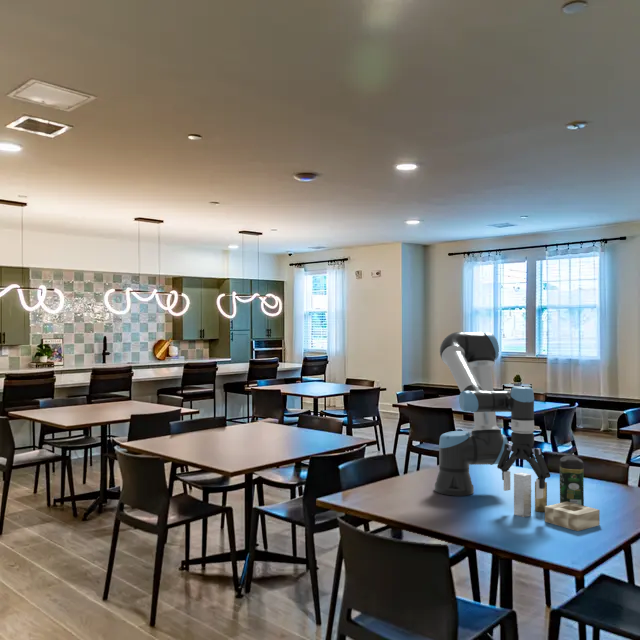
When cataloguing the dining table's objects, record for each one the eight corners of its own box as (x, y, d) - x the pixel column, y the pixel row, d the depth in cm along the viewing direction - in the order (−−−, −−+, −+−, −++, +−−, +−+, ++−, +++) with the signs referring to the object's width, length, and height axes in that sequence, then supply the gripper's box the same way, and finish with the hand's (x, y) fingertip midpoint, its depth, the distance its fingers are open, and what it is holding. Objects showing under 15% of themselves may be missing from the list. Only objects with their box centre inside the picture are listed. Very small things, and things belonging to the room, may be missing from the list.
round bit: (532, 510, 218) (532, 481, 218) (539, 508, 220) (539, 480, 221) (542, 513, 215) (542, 484, 215) (549, 511, 217) (549, 482, 217)
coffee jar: (558, 504, 226) (558, 453, 227) (581, 506, 224) (581, 454, 225) (561, 511, 217) (561, 458, 218) (585, 513, 215) (585, 459, 216)
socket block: (544, 521, 204) (544, 506, 205) (566, 516, 211) (566, 501, 211) (577, 531, 194) (577, 515, 195) (599, 525, 201) (599, 509, 201)
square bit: (513, 514, 212) (514, 473, 213) (521, 512, 215) (521, 472, 215) (523, 517, 209) (523, 475, 210) (531, 515, 211) (531, 474, 212)
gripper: (487, 428, 221) (487, 488, 220) (546, 437, 200) (547, 503, 199) (501, 427, 225) (501, 485, 224) (561, 435, 204) (561, 500, 203)
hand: (523, 494), depth 212 cm, fingers open, 13 cm apart
